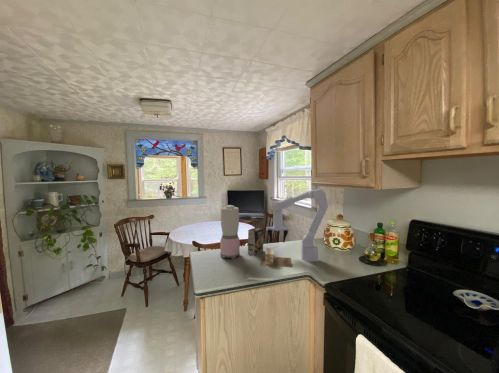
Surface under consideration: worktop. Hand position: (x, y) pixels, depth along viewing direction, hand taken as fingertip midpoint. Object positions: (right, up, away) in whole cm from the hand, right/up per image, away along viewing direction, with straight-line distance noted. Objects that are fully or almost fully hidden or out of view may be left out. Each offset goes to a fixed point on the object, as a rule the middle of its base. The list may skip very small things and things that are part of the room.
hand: (277, 241), depth 138 cm
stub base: (-2, -10, -9) cm, 14 cm away
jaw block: (-6, -9, -9) cm, 14 cm away
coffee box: (-14, -9, +6) cm, 17 cm away
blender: (-30, -9, +3) cm, 32 cm away
